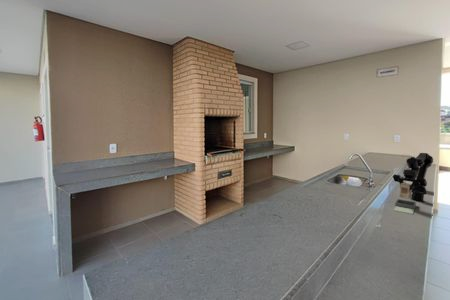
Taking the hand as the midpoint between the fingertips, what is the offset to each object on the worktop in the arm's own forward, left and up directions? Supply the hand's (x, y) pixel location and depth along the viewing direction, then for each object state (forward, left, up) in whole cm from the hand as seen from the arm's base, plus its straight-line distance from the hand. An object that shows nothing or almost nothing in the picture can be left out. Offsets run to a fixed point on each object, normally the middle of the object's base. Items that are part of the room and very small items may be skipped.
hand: (405, 189), depth 157 cm
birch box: (-1, -1, -6) cm, 6 cm away
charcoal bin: (-4, -4, -14) cm, 15 cm away
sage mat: (+3, +5, -14) cm, 15 cm away
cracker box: (-39, -50, -14) cm, 65 cm away
